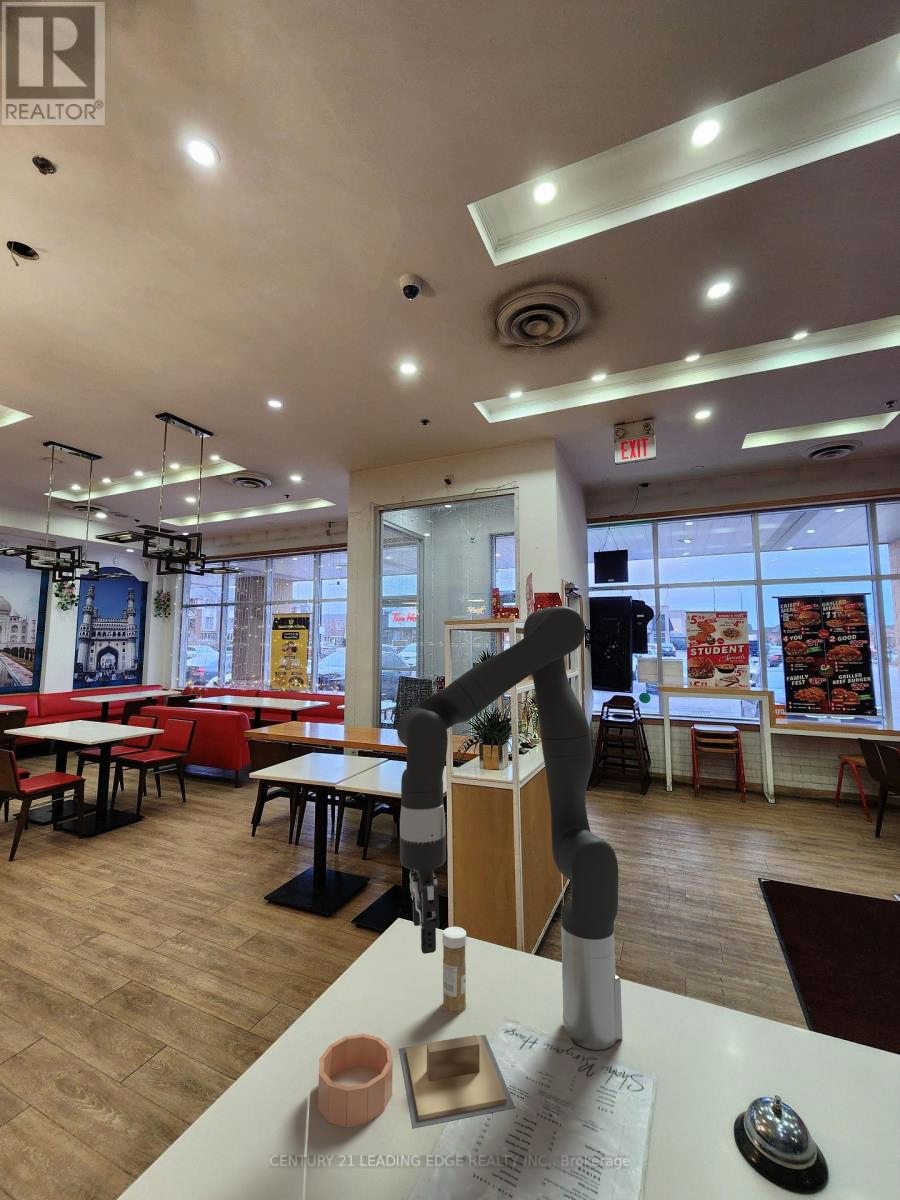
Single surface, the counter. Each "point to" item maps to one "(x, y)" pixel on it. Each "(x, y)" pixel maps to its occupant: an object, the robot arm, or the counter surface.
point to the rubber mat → (455, 1116)
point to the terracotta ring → (355, 1080)
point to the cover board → (453, 1077)
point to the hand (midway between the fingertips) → (423, 937)
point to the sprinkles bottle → (454, 970)
